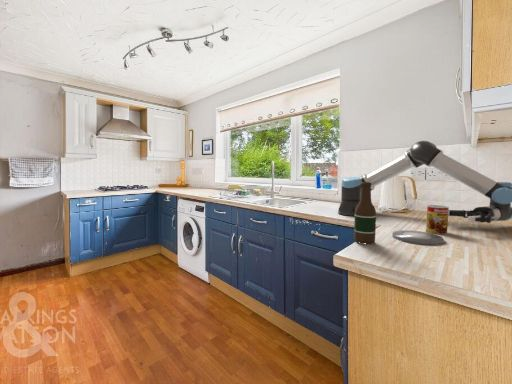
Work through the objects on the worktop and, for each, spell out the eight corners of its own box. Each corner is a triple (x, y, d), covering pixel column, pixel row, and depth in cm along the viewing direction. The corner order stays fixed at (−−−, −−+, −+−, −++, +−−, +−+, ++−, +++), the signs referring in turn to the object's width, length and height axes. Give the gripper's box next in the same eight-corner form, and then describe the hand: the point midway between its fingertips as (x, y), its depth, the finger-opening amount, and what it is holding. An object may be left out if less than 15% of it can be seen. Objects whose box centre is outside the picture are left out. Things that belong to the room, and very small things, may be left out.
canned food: (437, 235, 110) (439, 208, 109) (421, 230, 117) (423, 205, 116) (451, 233, 112) (453, 207, 111) (434, 229, 119) (436, 204, 118)
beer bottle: (379, 243, 97) (382, 182, 95) (362, 245, 95) (364, 182, 93) (365, 238, 105) (367, 181, 102) (349, 240, 103) (351, 181, 100)
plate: (386, 238, 104) (386, 235, 104) (399, 230, 117) (399, 228, 117) (439, 248, 92) (439, 244, 92) (446, 238, 105) (447, 235, 105)
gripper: (517, 227, 111) (482, 231, 105) (458, 217, 135) (427, 219, 129) (518, 210, 110) (484, 213, 104) (459, 203, 134) (428, 205, 128)
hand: (452, 216), depth 117 cm, fingers open, 13 cm apart
